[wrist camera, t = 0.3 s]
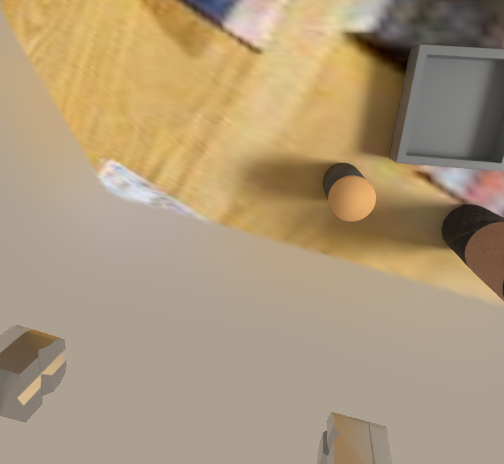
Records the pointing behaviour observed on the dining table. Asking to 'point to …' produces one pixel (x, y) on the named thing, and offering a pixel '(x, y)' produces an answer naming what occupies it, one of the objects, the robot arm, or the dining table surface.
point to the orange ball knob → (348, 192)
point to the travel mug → (478, 243)
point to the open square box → (451, 108)
